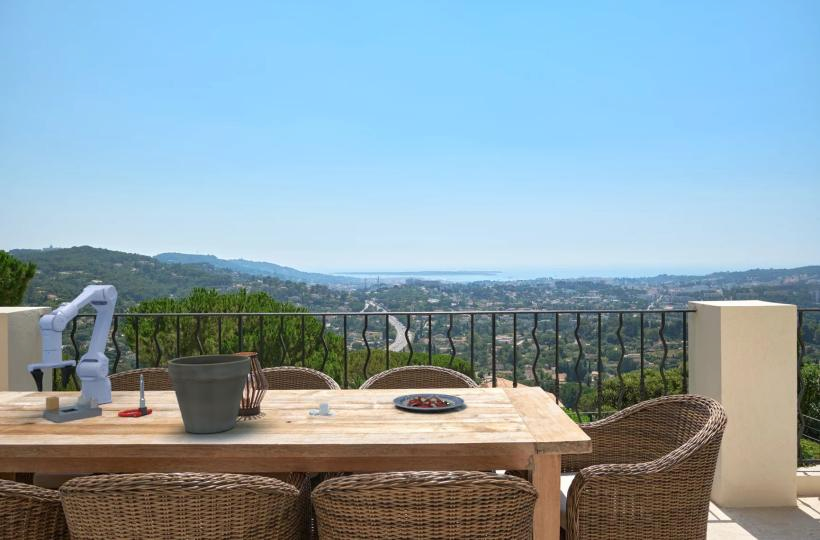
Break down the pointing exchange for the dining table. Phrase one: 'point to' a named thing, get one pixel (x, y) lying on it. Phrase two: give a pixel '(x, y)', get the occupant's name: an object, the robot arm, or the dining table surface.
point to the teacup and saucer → (321, 410)
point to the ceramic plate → (428, 402)
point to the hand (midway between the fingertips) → (52, 389)
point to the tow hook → (142, 409)
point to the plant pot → (209, 390)
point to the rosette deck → (75, 410)
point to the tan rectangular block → (52, 403)
